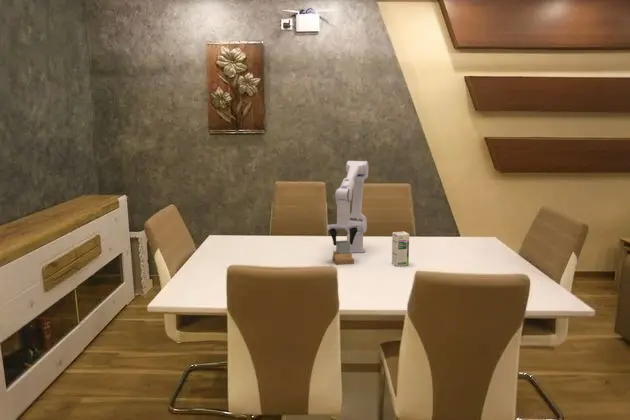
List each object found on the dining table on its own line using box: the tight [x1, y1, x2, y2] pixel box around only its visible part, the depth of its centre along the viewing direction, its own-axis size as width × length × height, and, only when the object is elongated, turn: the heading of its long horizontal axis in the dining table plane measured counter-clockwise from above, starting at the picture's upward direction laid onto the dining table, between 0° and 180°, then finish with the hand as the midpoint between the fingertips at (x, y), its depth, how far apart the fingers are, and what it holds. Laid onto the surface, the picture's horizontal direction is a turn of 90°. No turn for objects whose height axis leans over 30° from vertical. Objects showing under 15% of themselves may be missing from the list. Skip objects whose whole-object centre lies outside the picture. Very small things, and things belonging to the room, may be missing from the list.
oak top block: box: [332, 250, 353, 260], centre depth 245 cm, size 7×7×2 cm
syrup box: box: [391, 231, 410, 267], centre depth 241 cm, size 6×6×14 cm
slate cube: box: [335, 239, 350, 254], centre depth 244 cm, size 5×5×5 cm
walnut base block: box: [331, 255, 355, 266], centre depth 245 cm, size 8×8×2 cm
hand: (342, 244), depth 244 cm, fingers open, 7 cm apart
